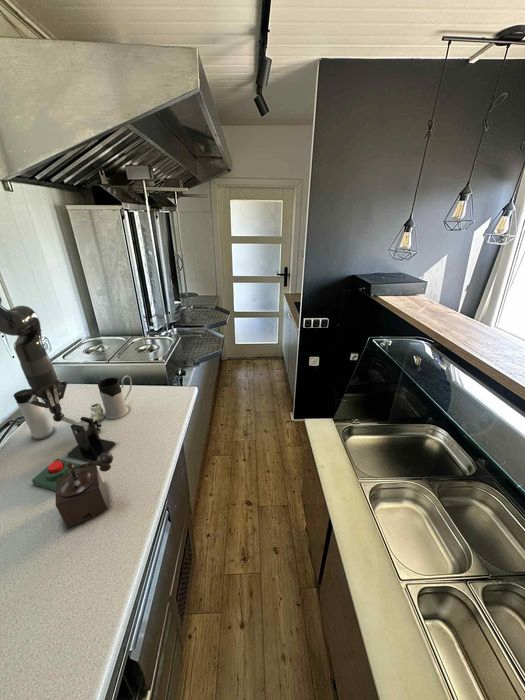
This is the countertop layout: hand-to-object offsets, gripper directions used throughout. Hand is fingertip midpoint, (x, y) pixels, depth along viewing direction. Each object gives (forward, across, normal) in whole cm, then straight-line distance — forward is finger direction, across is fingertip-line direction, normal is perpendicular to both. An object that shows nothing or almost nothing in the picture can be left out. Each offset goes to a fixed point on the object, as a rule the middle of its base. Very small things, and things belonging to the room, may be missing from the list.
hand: (57, 413), depth 98 cm
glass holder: (+15, -23, +4) cm, 28 cm away
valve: (+15, -12, +1) cm, 19 cm away
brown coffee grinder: (+15, +16, +27) cm, 35 cm away
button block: (+15, +12, +9) cm, 21 cm away
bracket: (+15, 0, +10) cm, 18 cm away
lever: (+4, 0, +4) cm, 6 cm away
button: (+11, +12, +9) cm, 19 cm away
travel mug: (+15, -2, -15) cm, 21 cm away
